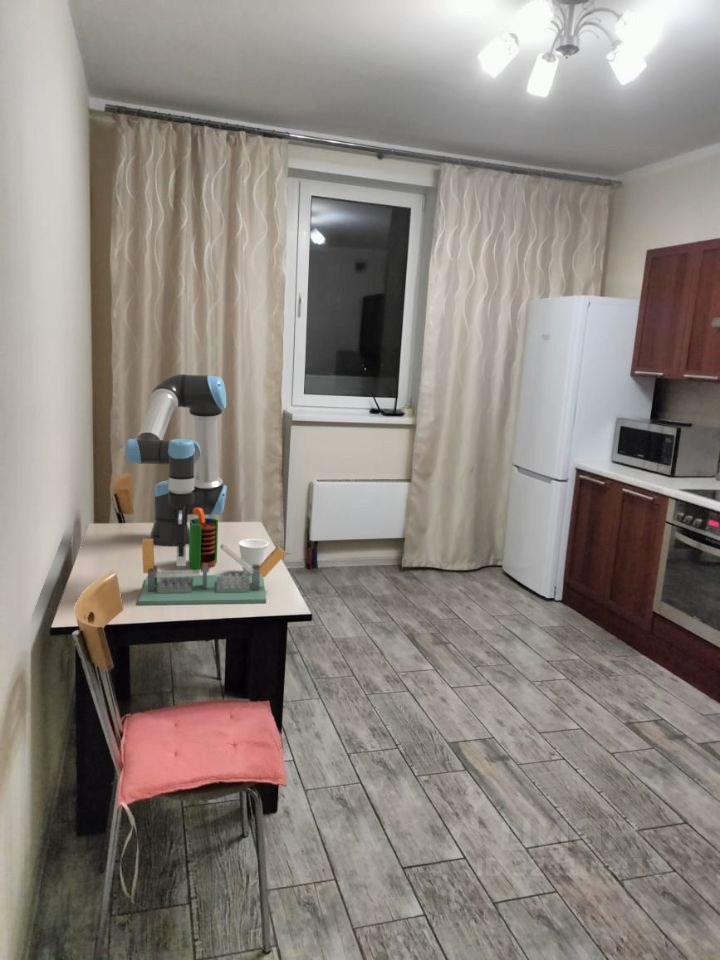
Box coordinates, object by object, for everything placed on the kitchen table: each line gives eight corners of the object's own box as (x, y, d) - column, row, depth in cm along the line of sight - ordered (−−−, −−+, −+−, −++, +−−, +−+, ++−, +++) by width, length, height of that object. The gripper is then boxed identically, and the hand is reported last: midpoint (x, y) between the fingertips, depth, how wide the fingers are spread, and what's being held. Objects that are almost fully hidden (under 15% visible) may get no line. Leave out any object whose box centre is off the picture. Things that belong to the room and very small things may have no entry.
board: (147, 579, 224) (147, 575, 224) (262, 578, 231) (262, 574, 231) (138, 605, 203) (138, 601, 202) (266, 602, 210) (266, 599, 209)
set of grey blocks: (150, 582, 218) (150, 560, 217) (258, 581, 224) (258, 559, 223) (147, 593, 209) (147, 570, 207) (259, 592, 215) (260, 569, 213)
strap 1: (143, 579, 211) (141, 541, 209) (144, 576, 214) (143, 538, 211) (199, 577, 214) (198, 540, 212) (199, 574, 217) (198, 537, 214)
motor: (208, 571, 235) (208, 513, 231) (183, 568, 236) (183, 511, 233) (220, 562, 245) (220, 507, 241) (196, 559, 246) (196, 504, 242)
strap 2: (259, 579, 221) (284, 551, 220) (260, 582, 218) (285, 554, 218) (219, 547, 216) (245, 518, 216) (219, 550, 213) (245, 521, 213)
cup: (241, 568, 239) (241, 538, 237) (269, 570, 239) (270, 539, 237) (235, 578, 229) (235, 546, 227) (264, 580, 229) (265, 548, 227)
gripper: (170, 485, 215) (170, 558, 220) (166, 495, 202) (166, 572, 207) (195, 486, 216) (194, 558, 221) (193, 496, 204) (192, 572, 209)
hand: (181, 565), depth 214 cm, fingers closed
